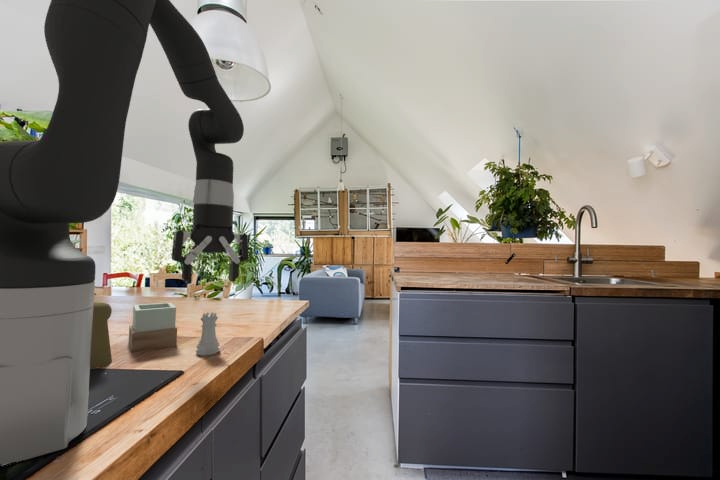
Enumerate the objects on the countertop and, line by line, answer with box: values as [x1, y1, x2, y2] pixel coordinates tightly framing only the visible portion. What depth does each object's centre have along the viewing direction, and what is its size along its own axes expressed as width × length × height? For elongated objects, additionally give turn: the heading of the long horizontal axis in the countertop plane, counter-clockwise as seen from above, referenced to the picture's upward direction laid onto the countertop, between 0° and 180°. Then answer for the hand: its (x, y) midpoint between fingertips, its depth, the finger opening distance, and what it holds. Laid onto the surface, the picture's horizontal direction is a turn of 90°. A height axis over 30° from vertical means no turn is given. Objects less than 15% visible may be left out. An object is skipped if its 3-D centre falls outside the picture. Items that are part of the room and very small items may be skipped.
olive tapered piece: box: [90, 302, 113, 371], centre depth 56 cm, size 6×6×11 cm
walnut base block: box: [128, 324, 178, 353], centre depth 68 cm, size 8×8×4 cm
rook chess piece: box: [195, 312, 221, 357], centre depth 64 cm, size 4×4×8 cm
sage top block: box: [132, 302, 177, 333], centre depth 68 cm, size 7×7×4 cm
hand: (211, 282), depth 64 cm, fingers open, 8 cm apart
